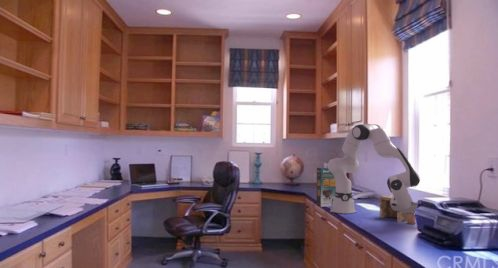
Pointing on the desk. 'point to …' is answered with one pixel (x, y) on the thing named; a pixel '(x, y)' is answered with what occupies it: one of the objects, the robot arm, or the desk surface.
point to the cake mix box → (325, 187)
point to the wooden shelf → (390, 209)
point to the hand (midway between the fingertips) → (411, 215)
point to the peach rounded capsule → (411, 218)
